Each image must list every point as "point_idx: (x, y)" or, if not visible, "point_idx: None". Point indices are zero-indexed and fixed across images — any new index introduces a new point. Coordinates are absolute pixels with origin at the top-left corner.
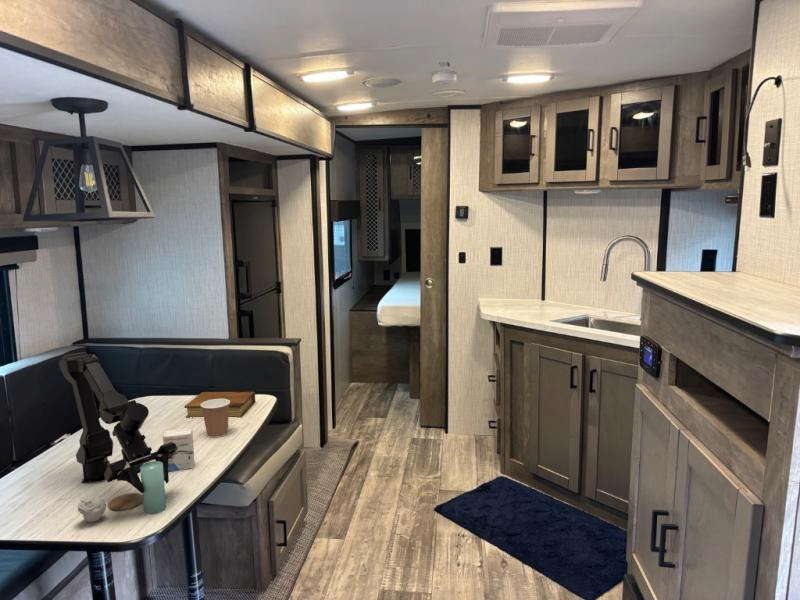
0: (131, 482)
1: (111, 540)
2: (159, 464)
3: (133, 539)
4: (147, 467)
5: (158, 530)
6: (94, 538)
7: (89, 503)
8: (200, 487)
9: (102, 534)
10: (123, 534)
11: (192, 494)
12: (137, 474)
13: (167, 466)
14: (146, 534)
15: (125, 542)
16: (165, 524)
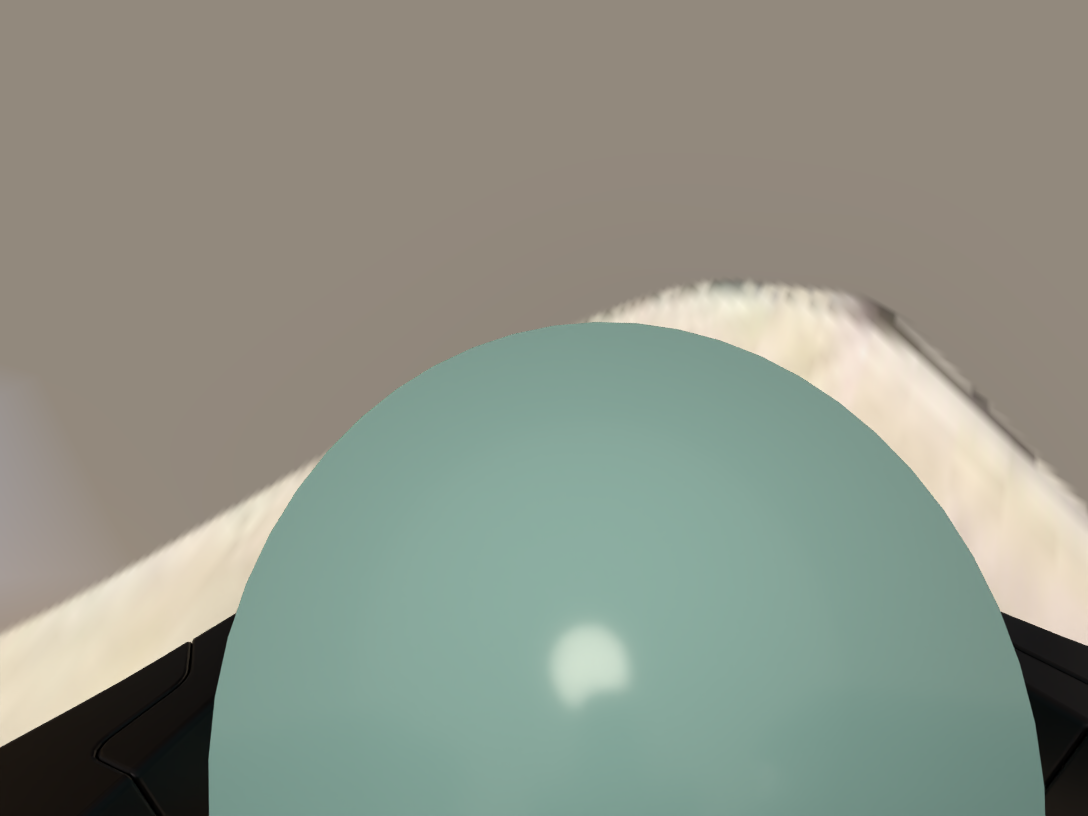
0: None
1: (966, 416)
2: (396, 520)
3: (843, 314)
4: (799, 628)
5: (685, 288)
6: (1070, 546)
7: None
8: (69, 648)
9: (1011, 555)
10: (880, 424)
11: (213, 577)
12: (1028, 677)
13: (167, 661)
14: (760, 304)
15: (893, 321)
16: (620, 317)
